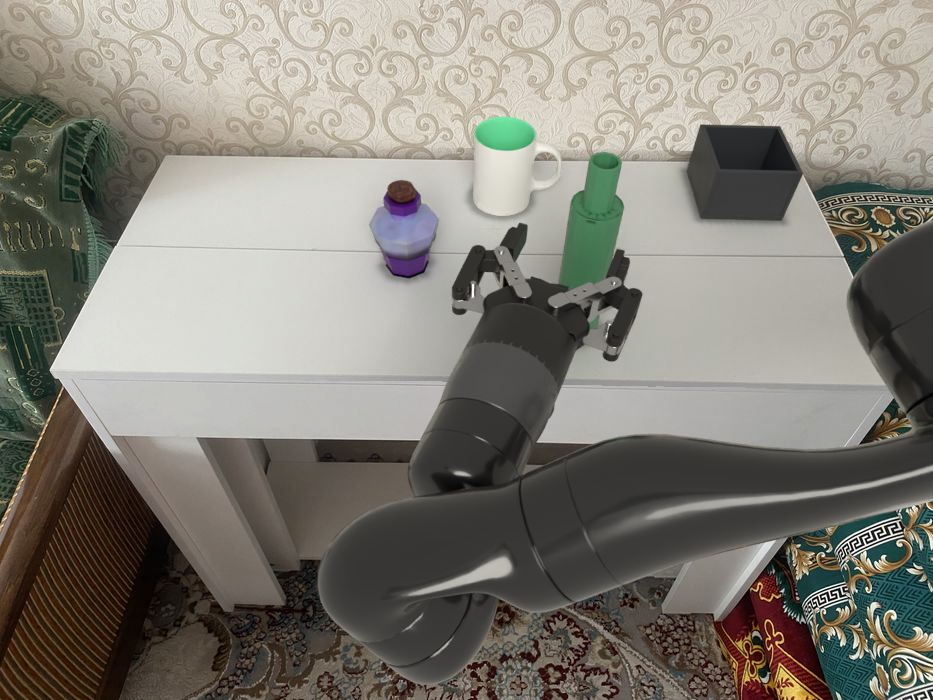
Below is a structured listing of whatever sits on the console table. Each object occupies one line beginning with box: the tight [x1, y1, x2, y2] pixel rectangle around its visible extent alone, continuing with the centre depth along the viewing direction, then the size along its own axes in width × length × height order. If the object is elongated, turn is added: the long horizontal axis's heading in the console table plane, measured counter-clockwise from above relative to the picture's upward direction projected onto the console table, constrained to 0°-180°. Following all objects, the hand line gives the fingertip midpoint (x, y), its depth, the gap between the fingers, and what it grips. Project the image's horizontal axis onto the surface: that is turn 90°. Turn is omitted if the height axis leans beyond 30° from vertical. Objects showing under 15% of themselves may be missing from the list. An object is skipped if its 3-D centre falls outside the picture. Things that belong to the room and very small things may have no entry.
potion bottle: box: [368, 179, 440, 280], centre depth 84 cm, size 9×9×12 cm
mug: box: [472, 116, 563, 217], centre depth 94 cm, size 12×8×10 cm, turn 91°
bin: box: [686, 123, 804, 222], centre depth 95 cm, size 11×11×8 cm
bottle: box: [557, 151, 625, 329], centre depth 73 cm, size 5×5×23 cm
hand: (570, 243), depth 59 cm, fingers open, 8 cm apart
